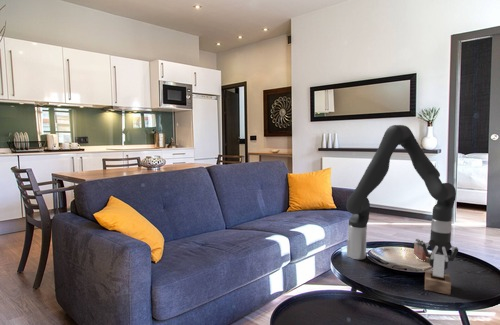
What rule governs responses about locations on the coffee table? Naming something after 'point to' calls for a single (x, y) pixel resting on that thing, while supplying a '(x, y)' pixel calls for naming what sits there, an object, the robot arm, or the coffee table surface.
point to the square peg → (438, 265)
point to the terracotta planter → (419, 250)
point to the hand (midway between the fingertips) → (438, 267)
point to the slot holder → (437, 283)
